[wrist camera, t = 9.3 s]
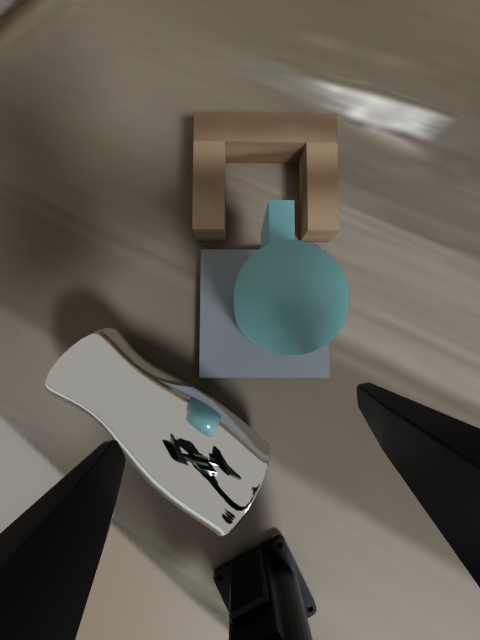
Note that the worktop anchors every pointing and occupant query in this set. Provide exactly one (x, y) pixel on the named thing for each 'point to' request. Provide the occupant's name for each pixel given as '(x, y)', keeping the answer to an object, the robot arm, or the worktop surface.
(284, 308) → the teal gourd with tab
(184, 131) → the worktop surface
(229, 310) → the coaster
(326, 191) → the bracket
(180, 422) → the beer glass
